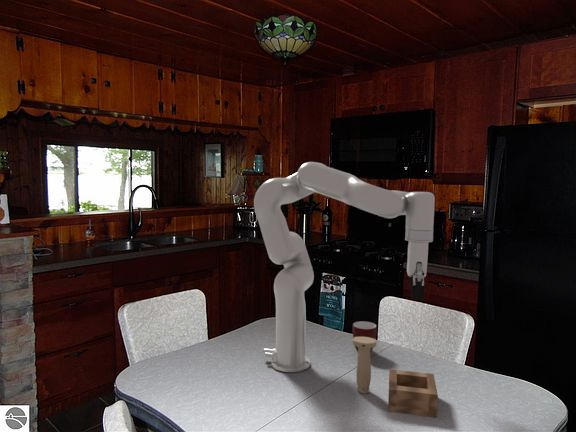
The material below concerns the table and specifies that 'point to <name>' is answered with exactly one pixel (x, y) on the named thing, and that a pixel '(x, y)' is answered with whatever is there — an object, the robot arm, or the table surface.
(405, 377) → the block
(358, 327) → the mug
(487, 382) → the table surface
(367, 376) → the handle
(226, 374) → the table surface
